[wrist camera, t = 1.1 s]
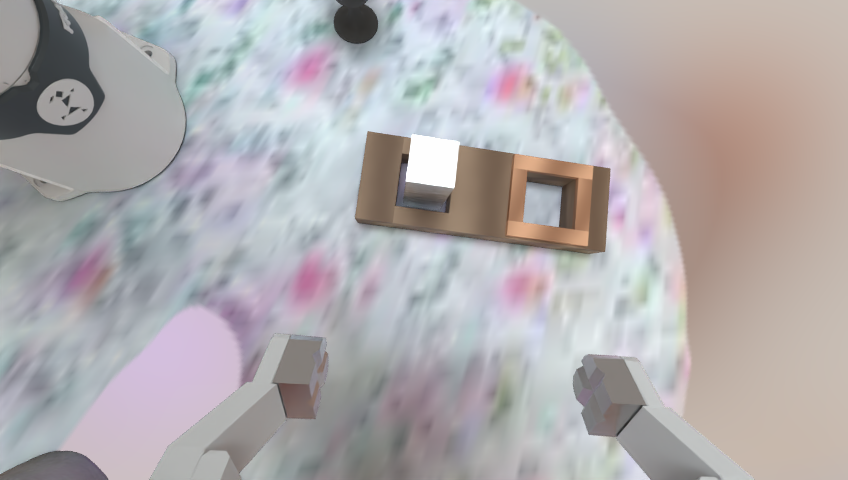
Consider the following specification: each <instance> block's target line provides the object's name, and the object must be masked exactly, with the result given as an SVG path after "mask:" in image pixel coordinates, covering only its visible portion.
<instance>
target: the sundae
mask: <svg viewBox="0 0 848 480" xmlns="http://www.w3.org/2000/svg"><path fill="white" fill-rule="evenodd" d="M336 1H337V2H338V3H340V4H341V5H343V6H342V7H341V8H340V9H339V10H338V11H337V13H336V14H335V17H334V27H335V30H336V32H337V33H338V34H339V36H340V37H341V38H343V39H344V40H346V41H348V42H351V43H362V42H366V41H368V40H369V39H371V38H372V37H373V36H374V35H375V33H376V31H377V28H378V20H377V17H376V15H375V13H374V12H373V10H372V9H371V8H369V7H368V6H366V5H364V4H365V3H366V2H367V0H336Z"/></svg>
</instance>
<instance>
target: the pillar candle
mask: <svg viewBox="0 0 848 480" xmlns="http://www.w3.org/2000/svg"><path fill="white" fill-rule="evenodd" d="M0 480H108V478H107V477H106V475H105V474H104V473H103V472H102V471H101V470H100V469H99V468H98V467H97V466H96V465H95V464H94V463H93V462H92V461H91V460H90V459H88V458H87V457H86V456H84V455H82V454H79V453H77V452H72V451H54V452H50V453H46V454H43V455H40V456H38V457H35V458H33V459H31V460H29V461H27V462H25V463H22V464H20V465H18V466H15V467H14V468H12V469H10V470H8V471H6V472H4V473H2V474H0Z"/></svg>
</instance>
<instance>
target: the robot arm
mask: <svg viewBox="0 0 848 480" xmlns="http://www.w3.org/2000/svg"><path fill="white" fill-rule="evenodd" d="M150 55H152V56H151V57H150ZM175 78H176V62H175V59H174V57H173V56H172V55H171V54H170V53H169V52H168V51H166V50H165V49H163V48H161V47H159V46H156V45H154V44H151V43H149V42H146V41H144V40H141V39H139V38H136V37H134V36H131V35H129V34H126V33H124V32H121V31H119V30H118V29H116V28H115V27H114V26H113V25H112V24H110V23H109V22H108V21H107V20H105V19H104V18H102V17H101V16H94V17H93V16H91V15H89V14H87V13H85V12H82V11H80V10H77V9H74V8H71V7H68V6H65V5H61V4H59V3H57V1H56V0H0V167H3V168H6V169H9V170H12V171H15V172H17V173H20V174H21V175H22V176H23V177H24V178H25V179H26V180H27V181H28V182H29V183H30V184H31V185H32V186H33V187H34V188H35V189H36V190H37V191H38V192H39V193H41V194H42V195H43V196H44V197H46V198H49V199H52V200H55V201H65V200H68V199H71V198H74V197H77V196H80V195H82V194H84V193H88V192H112V191H121V190H126V189H130V188H133V187H136V186H138V185H141V184H143V183H145V182H147V181H149V180H150V179H152V178H153V177H155V176H156V175H158V174H159V173H160V172H161V171H162V170H163V169H165V168H166V166H167V165H168V164H169V163H170V162H171V161H172V159H173V158H174V157H175V155H176V153H177V152H178V150H179V148H180V145H181V143H182V140H183V136H184V132H185V123H186V118H185V110H184V106H183V102H182V99H181V97H180V95H179V92H178V90H177V87H176V83H175ZM326 346H327V342H326V338H324V337H313V336H301V335H290V334H276V333H275V335H274V336H273V337H272V338H271V340H270V343H269V345H268V347H267V349H266V352H265V354H264V356H263V358H262V361H261V363H260V365H259V367H258V370H257V372H256V374H255V377H254V379H253V381H252V382H246V383H245V384H244V385H243V386H241V387H240V388H239V389H238V390H236V391H235V392H234V393H233V394H231V396H229V397H228V398H227V399H225V400H224V401H223V402H222V403H220V404H219V405H218V406H217V407H216V408H214V409H213V410H212V411H211V412H209V413H208V414H207V415H206V416H204V417H203V418H202V419H201V420H199V422H197V423H196V424H195V425H193V426H192V427H191V428H190V429H188V430H187V431H186V432H185V433H183V434H182V435H181V436H180V437H179V438H177V439H176V440H175V441H174V442H172V443H171V444H170V445H169V446H168V447H167V449H166V451H165V452H164V454H163V456H162V458H161V459H160V461H159V463H158V465H157V467H156V468H155V470H154V472H153V474H152V475H151V477H150V479H149V480H242V479H241V477H240V475H239V473H240V472H241V471H242V470H243V468H244V467H245V466H246V465H247V464H248V463H249V462H250V461H251V460H252V458H253V457H254V456H255V455H256V454H257V453H258V452H259V451H260V449H261V448H262V447H263V446H264V445H265V444H266V443H267V442H268V440H269V439H270V438H271V437H272V436H273V435H274V434H275V433H276V431H277V430H278V429H279V428H280V427H281V426H282V425H283V424H284V422H285V421H286V420H287V419H286V418H297V419H316V415H317V411H318V408H319V404H320V400H321V393H320V388H321V387H322V386H323V385H324V384H325V381H326V377H327V371H328V353H327V352H326V351H325V350H326ZM582 364H583V366H582V367H580V368H578V369H577V370H576V372H575V374H574V376H573V389H574V393H575V396H576V399H577V400H578V401H579V402H580V403H581V404H582V405H583V406H584V407H583V410H582V413H581V414H582V417H583V420H584V422H585V425H586V428H587V431H588V434H589V435H598V436H609V437H617V438H616V439H617V441H618V442H619V443H620V444H621V445H622V446H623V448H624V449H625V450H626V451H627V452H628V453H629V455H630V456H631V457H632V458H633V459H634V461H635V462H636V463H637V464H638V465H639V466H640V468H641V469H642V470H643V471H644V472H645V473H646V475H647V476H648V477H649V478H650V479H651V480H755V479H754V478H753V477H752V476H751V475H749V474H748V473H747V472H746V471H745V470H743V469H742V468H741V467H740V466H739V465H737V464H736V463H735V462H734V461H733V460H732V459H730V458H729V457H728V456H727V455H726V454H724V453H723V452H722V451H721V450H720V449H719V448H717V447H716V446H715V445H714V444H713V443H711V442H710V441H709V440H708V439H707V438H705V437H704V436H703V435H702V434H701V433H700V432H698V431H697V430H696V429H695V428H694V427H692V426H691V425H690V424H689V423H688V422H686V421H685V420H684V419H683V418H682V417H680V416H679V415H678V414H677V413H676V412H674V411H673V410H672V409H671V408H668V407H665V406H664V404H663V402H662V401H661V399H660V397H659V395H658V393H657V392H656V390H655V388H654V386H653V384H652V382H651V381H650V379H649V377H648V375H647V373H646V372H645V370H644V368H643V366H642V364H641V362H640V361H639V360H638V359H637V358H635V357H621V356H612V355H592V354H588V355H586V356H584V358H583V359H582Z"/></svg>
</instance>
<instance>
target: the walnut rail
mask: <svg viewBox="0 0 848 480" xmlns="http://www.w3.org/2000/svg"><path fill="white" fill-rule="evenodd" d="M411 139H412V138H408V137H401V136H395V135H388V134H382V133H375V132H369V131H368V133H367V139H366V146H365V153H364V160H363V167H362V173H361V180H360V187H359V194H358V201H357V207H356V214H355V219H356V220H357V222H358V223H365V224H372V225H380V226H387V227H395V228H402V229H410V230H417V231H424V232H432V233H439V234H447V235H454V236H462V237H469V238H477V239H484V240H491V241H499V242H506V243H514V244H521V245H529V246H536V247H544V248H551V249H558V250H566V251H573V252H581V253H588V254H591V253H599V252H605V246H606V231H607V215H608V200H609V184H610V168H604V167H597V166H590V165H584V164H577V163H571V162H564V161H558V160H551V159H545V158H538V157H532V156H525V155H519V154H512V153H506V152H499V151H493V150H486V149H480V148H473V147H467V146H460V145H459V151H458V160H457V168H456V177H455V186H454V189H453V190H452V192H451V193H450V195H449V196H448V198H447V203H446V211H445V213H443V212H436V211H428V210H421V209H414V208H407V207H400V206H396V198H397V191H398V184H399V176H400V169H401V163H407V164H408V161H409V153H410V146H411ZM527 181H529V182H535V183H542V184H549V185H556V186H562V199H561V211H560V224H559V227H552V226H545V225H538V224H531V223H523V215H524V204H525V193H526V182H527Z"/></svg>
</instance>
